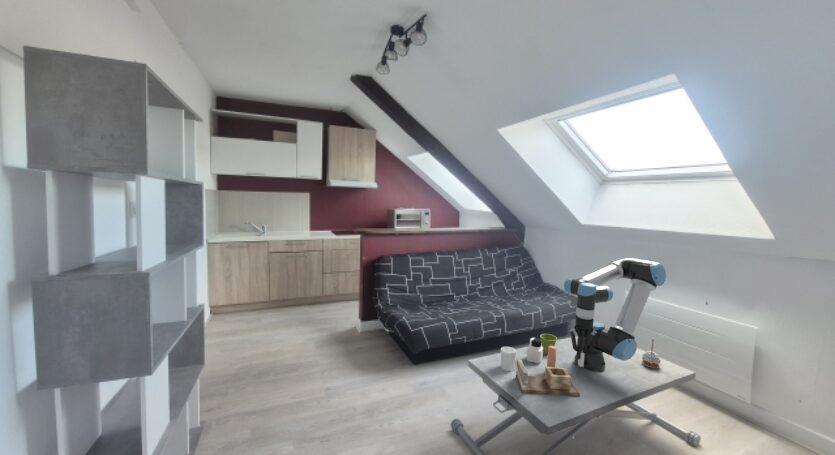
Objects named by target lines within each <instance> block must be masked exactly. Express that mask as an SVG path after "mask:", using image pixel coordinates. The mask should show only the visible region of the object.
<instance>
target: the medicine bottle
mask: <svg viewBox="0 0 835 455" xmlns="http://www.w3.org/2000/svg"><path fill="white" fill-rule="evenodd" d="M543 355H544V351H543V347H542V341H541V338H538V337H531V338H530V339H529V346H528V347H527V348H526V361H527V362H531V363H534V364H538V365H540V364H541V363H542V361H543V359H544V358H543V357H544V356H543Z"/></svg>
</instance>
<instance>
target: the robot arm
mask: <svg viewBox="0 0 835 455" xmlns="http://www.w3.org/2000/svg"><path fill="white" fill-rule="evenodd" d="M666 272H667V271H666V268H665V266H664V265H663V264H662V263H660V262H657V261H651V260H645V259H640V258H635V257H626V258H620V259H617V260H614V261H611V262H609V263H607V265H606V266H605V267H602V268H599V269H598V270H596V271H593V272H591V273H588V274H586V275H584V276H581V277H579V278H577V279H575V278H567V279H566V280H565V281H564V283H563V289H564V291H565V292H567V293H568V294H571V295H574V296H576V298H577V299H576V301H577V302H576V309H575V310H576V311H575V321H574V326H573V328H572V329H568V332H569V334H570V338H571V344H572V349H573V350H574V351H575V352H576V354H575V355H574V359H573V360H574V361H573V362H574V364H575V365H576V366H578V367H579V368H581V369H584V370H585V371H586V370H587V371H591V372H602V371H604V370H606V361H605V357H604V354H606V355H608V356H610V357H613V358H614V359H617V360H620V361H623V362H624V361H628V360H630V359H631V358H633V357H634V356H635V354H636V352H637V347H638V344H637V341H636V336H635V334H634V332H635V330H636V327H637V325H638V323H639V320H640V318H641V316H642V313H643V311H644V308H645V306H646V304H647V302H648V299H649V297H650V295H651V293H652V292H653V291H656V289H657V287H661V286H663V285H664V284H665V282H666V278H667V274H666ZM620 279H628V280H630V283H631V287H630V288H629V291H628V293H627V296H626V297H625V300H624V302H623V305H622V306H621V309H620V312H619V313H618V314H619V315H618V317H617V319H616V321H615V323H614V325H610V326H609V329H606V326H605V324H604V323H601V322H596V321H595V320H594V318H595V307H596V304H600V303H601V304H602V303H607V302H610V301H611V300H612V299H613V297H614V291H613V290H612V288H611V287H609V286H608V285H604V284H607V283H609V282H611V281H614V280H620ZM576 334H577V338H576Z"/></svg>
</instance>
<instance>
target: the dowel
mask: <svg viewBox="0 0 835 455" xmlns="http://www.w3.org/2000/svg"><path fill="white" fill-rule="evenodd" d="M557 349H558V348H557V347H556V346H548V353H547V359H546V360H547V361H546V367H556V364H557V363H556V361H557V360H556V359H557Z"/></svg>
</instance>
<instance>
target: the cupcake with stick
mask: <svg viewBox="0 0 835 455" xmlns="http://www.w3.org/2000/svg"><path fill="white" fill-rule="evenodd" d="M654 343H655V339H654V338H651V348H650V350H647V351H645V352H643V353H642V360H641V363H642V364H643V366H646V367H648V368H652V369H659V368H660V367H661V366H660V363H661V361H662V360H661V358H660V355H659V354H658V353H657V352H655V351H654Z"/></svg>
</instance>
